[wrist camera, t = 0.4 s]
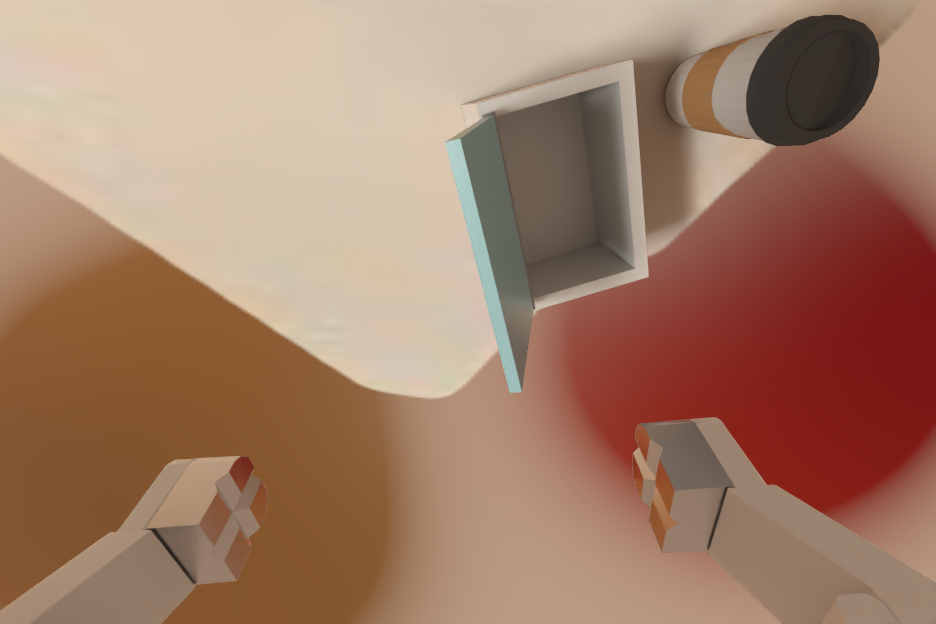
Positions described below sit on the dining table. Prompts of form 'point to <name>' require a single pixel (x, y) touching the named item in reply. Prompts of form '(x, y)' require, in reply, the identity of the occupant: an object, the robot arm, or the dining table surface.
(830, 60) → the coffee cup
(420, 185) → the dining table surface
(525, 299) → the cover
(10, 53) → the dining table surface
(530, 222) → the white box
